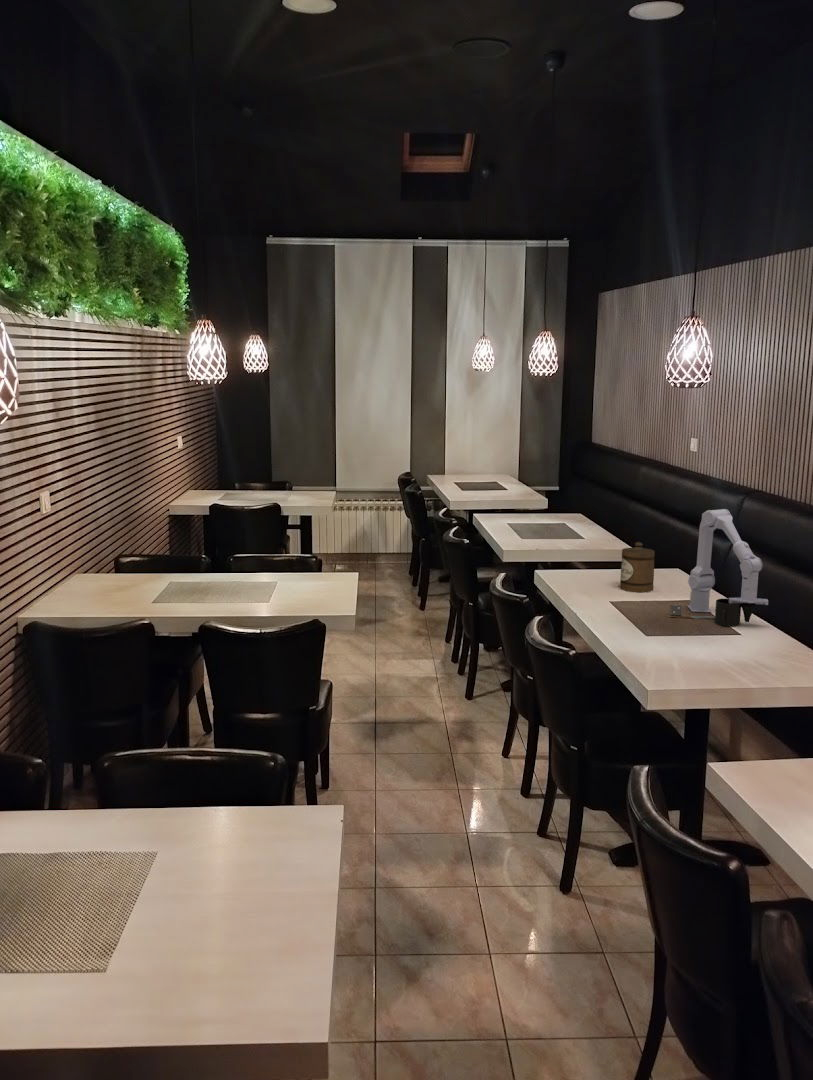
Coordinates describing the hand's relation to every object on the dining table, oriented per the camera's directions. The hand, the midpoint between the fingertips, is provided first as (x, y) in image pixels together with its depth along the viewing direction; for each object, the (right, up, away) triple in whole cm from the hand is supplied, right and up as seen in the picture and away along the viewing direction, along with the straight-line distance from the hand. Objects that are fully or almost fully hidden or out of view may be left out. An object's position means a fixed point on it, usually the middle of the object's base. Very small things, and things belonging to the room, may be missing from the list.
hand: (746, 621), depth 341 cm
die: (-24, +1, +12) cm, 27 cm away
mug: (-8, -1, +1) cm, 8 cm away
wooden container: (-28, +9, +59) cm, 66 cm away
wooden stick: (-14, 0, +10) cm, 17 cm away
